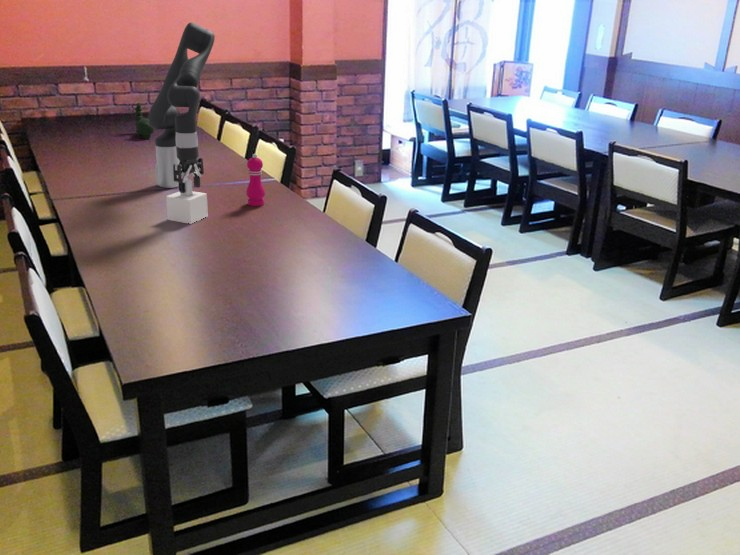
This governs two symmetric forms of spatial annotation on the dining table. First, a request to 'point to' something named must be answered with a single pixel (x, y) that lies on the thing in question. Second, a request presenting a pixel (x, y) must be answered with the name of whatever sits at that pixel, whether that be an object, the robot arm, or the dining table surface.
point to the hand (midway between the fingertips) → (190, 189)
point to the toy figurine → (142, 124)
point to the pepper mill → (255, 182)
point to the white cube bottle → (187, 205)
